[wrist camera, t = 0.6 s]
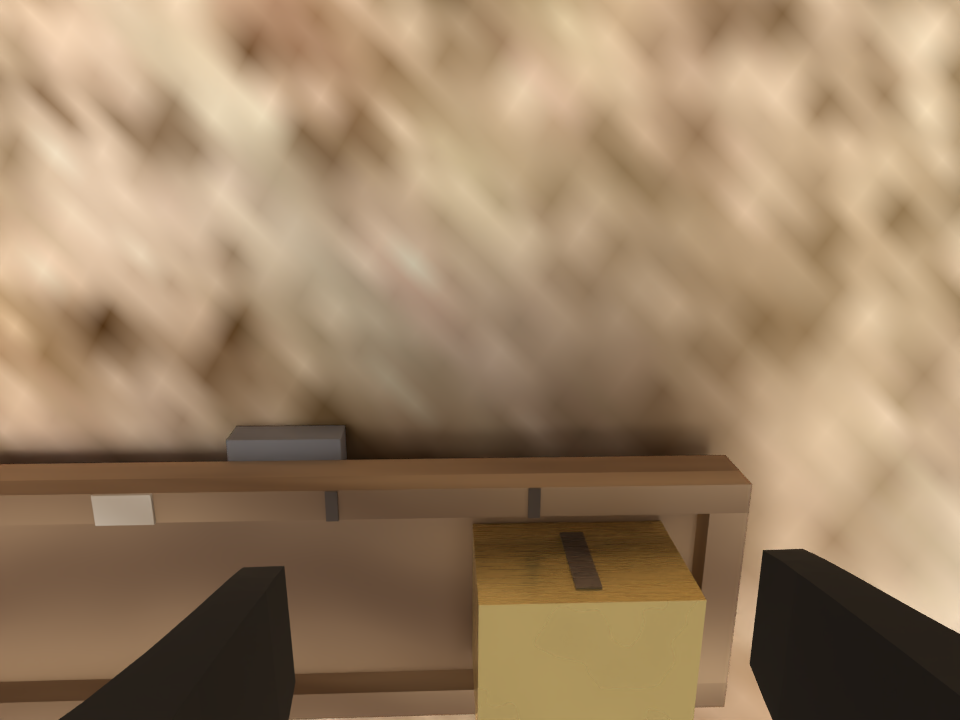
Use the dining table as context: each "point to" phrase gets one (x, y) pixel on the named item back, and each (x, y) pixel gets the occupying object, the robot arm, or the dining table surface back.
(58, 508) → the brown rectangular tray
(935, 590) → the dining table surface
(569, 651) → the yellow block
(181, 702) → the robot arm
